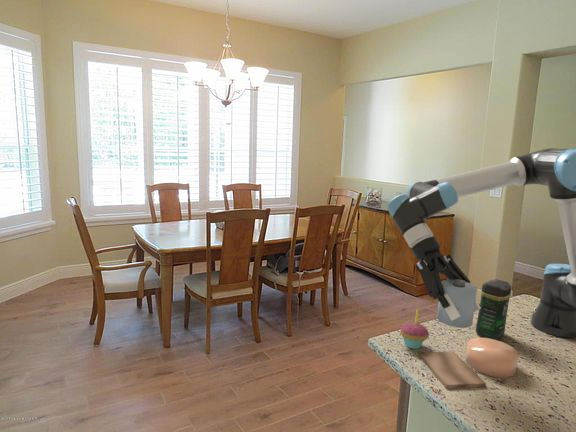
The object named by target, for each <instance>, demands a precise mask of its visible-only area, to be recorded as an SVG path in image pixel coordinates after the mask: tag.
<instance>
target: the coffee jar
mask: <svg viewBox="0 0 576 432" xmlns="http://www.w3.org/2000/svg"><path fill="white" fill-rule="evenodd" d="M480 291H481V292H480V302H479V306H480V307H481V309H479V310H478V315H477V320H476V323H475V332H476V334H478V335H480V336H481V337H482V338H489V339H494V340H498V339H500V338H502V337H503V336H504V335H505V333H506V331H505V330H506V324H507V317H508V308H509V303H510V297H511V294H512V286H511V284H510V283H509V282H508V281H504V280H501V279H499V278H495V279H491V280H490V279H489V281H486V282H484V283H483V284H482V286H481V290H480Z"/></svg>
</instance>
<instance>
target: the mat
mask: <svg viewBox="0 0 576 432" xmlns="http://www.w3.org/2000/svg"><path fill="white" fill-rule="evenodd" d="M418 357H419V358H420V359H421V360H422V361H423V363H424V364H425V365H426V366H427V368H428V369H429V370H430V372H432V373H433V375H434V377H436V378H437V379H438V380H439V382H440V383H441V384H442V385H443V386H444V388H445V389H463V388H482V387H483V388H486V385H487V383H486V382H485V380H483V379H482V378H481V376H479V375H478V374H477V373H476V372H475V371H474V369H473V368H472V367H470V366H469V365H468V363H467V362H466V361H465V360H463V359H462V358H461V357H460V356H459V355H458V354H457V353H456V352H455V351H429V352H427V351H425V352H423V351H422V352H418Z"/></svg>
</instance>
